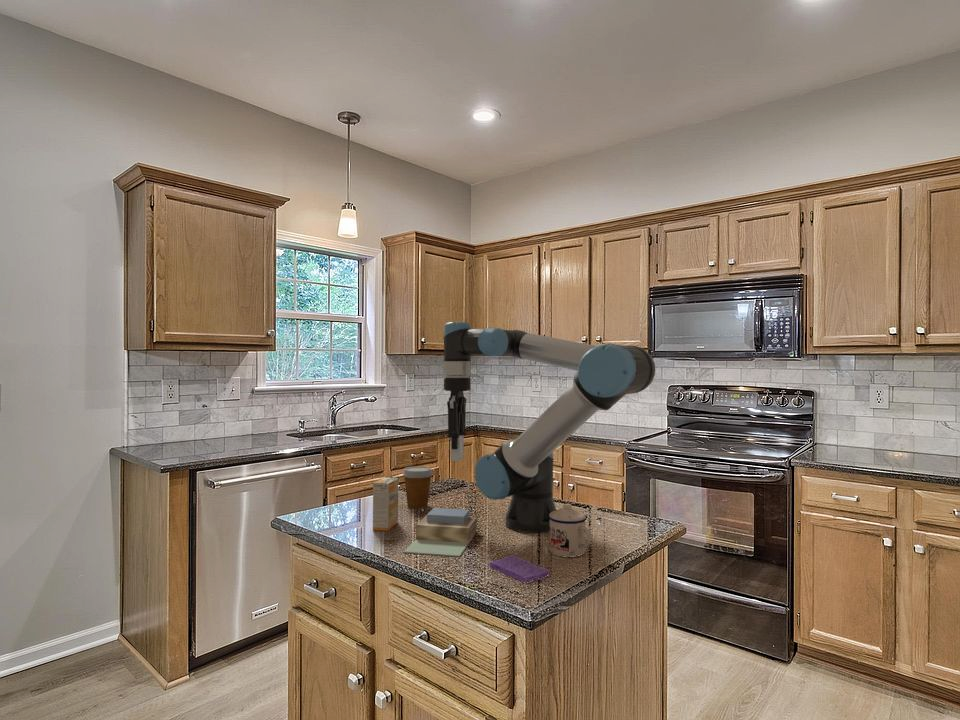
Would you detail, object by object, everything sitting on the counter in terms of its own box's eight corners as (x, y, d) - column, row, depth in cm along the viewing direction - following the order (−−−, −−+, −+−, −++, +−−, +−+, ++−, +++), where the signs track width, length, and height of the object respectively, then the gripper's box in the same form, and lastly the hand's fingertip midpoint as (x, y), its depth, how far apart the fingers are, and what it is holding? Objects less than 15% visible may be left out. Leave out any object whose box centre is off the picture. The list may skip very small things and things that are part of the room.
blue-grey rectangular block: (469, 517, 157) (469, 509, 157) (463, 524, 150) (463, 516, 150) (434, 515, 159) (434, 507, 159) (426, 522, 152) (426, 514, 152)
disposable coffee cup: (431, 510, 179) (431, 471, 179) (400, 510, 179) (400, 471, 179) (433, 502, 189) (434, 466, 188) (404, 502, 189) (404, 465, 189)
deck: (476, 532, 157) (476, 517, 157) (468, 543, 147) (468, 528, 147) (427, 529, 159) (427, 514, 159) (415, 540, 150) (416, 524, 149)
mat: (468, 544, 147) (468, 542, 147) (459, 556, 137) (459, 555, 137) (415, 540, 149) (415, 539, 149) (403, 552, 140) (403, 551, 140)
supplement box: (388, 531, 157) (388, 483, 157) (372, 530, 158) (372, 482, 158) (399, 523, 165) (399, 477, 165) (383, 522, 166) (383, 476, 166)
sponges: (525, 586, 121) (525, 577, 121) (489, 568, 131) (489, 560, 131) (550, 578, 125) (550, 569, 125) (513, 562, 135) (513, 554, 135)
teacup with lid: (540, 550, 142) (541, 503, 142) (566, 543, 147) (566, 498, 147) (577, 564, 132) (577, 513, 132) (603, 556, 138) (603, 507, 138)
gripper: (451, 375, 172) (451, 454, 173) (436, 377, 156) (436, 464, 156) (476, 376, 171) (475, 455, 171) (463, 377, 155) (463, 465, 155)
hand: (456, 459), depth 164 cm, fingers open, 3 cm apart
